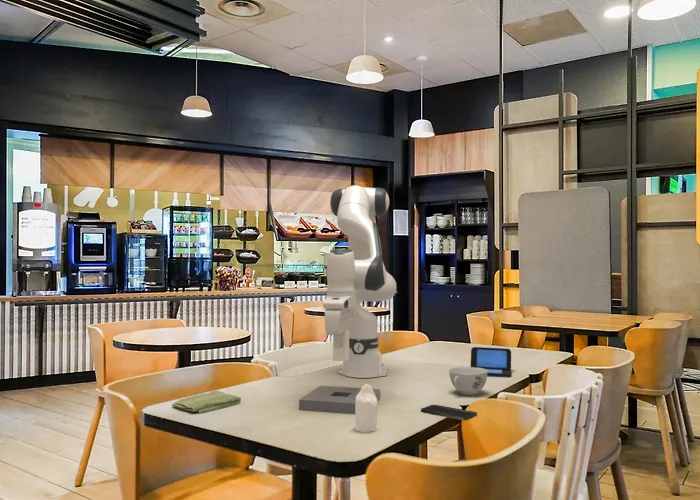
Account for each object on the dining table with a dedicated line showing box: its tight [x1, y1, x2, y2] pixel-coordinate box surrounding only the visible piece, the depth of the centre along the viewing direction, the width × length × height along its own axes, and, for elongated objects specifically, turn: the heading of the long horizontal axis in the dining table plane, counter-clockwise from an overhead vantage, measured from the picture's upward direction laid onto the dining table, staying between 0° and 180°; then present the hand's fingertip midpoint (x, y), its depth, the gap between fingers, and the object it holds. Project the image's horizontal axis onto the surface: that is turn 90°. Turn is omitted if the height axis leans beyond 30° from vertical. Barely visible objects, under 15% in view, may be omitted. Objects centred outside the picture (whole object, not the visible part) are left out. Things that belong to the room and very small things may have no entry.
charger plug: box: [332, 330, 349, 362], centre depth 185 cm, size 4×4×10 cm
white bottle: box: [354, 383, 378, 433], centre depth 159 cm, size 6×12×6 cm
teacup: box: [448, 366, 488, 396], centre depth 199 cm, size 15×12×8 cm
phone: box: [420, 404, 478, 421], centre depth 175 cm, size 8×1×15 cm
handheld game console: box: [470, 346, 512, 378], centre depth 235 cm, size 16×13×9 cm
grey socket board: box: [298, 385, 381, 415], centre depth 185 cm, size 20×20×3 cm
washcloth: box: [171, 390, 242, 415], centre depth 183 cm, size 13×18×3 cm
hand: (341, 346), depth 185 cm, fingers closed on charger plug, 4 cm apart
